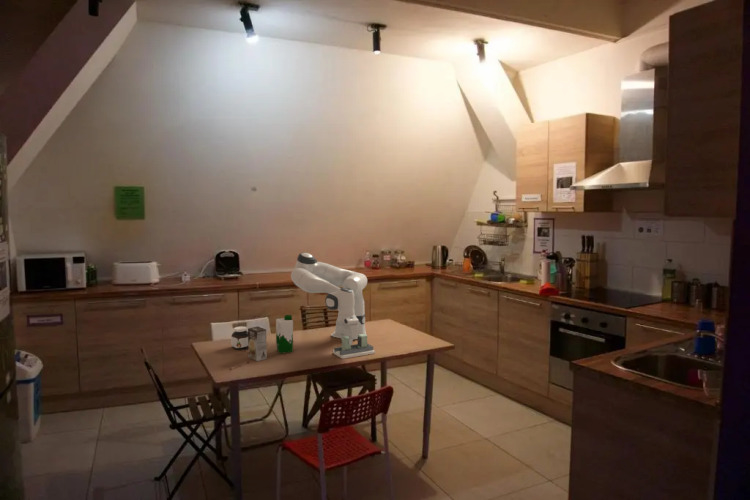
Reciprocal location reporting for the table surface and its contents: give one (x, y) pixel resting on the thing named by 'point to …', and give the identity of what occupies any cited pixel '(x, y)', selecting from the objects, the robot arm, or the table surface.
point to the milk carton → (284, 334)
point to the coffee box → (257, 343)
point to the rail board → (355, 349)
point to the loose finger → (345, 343)
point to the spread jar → (239, 338)
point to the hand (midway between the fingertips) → (346, 342)
